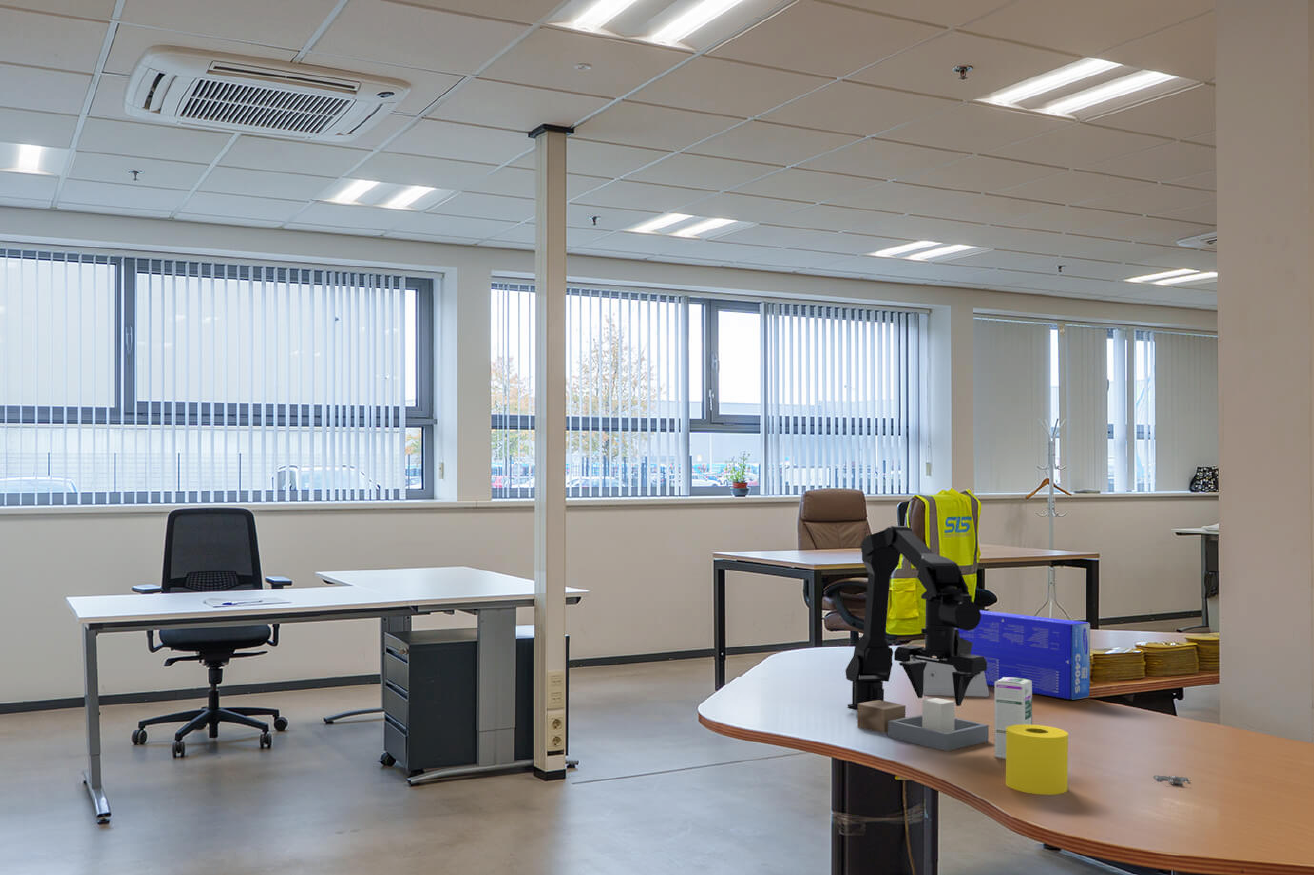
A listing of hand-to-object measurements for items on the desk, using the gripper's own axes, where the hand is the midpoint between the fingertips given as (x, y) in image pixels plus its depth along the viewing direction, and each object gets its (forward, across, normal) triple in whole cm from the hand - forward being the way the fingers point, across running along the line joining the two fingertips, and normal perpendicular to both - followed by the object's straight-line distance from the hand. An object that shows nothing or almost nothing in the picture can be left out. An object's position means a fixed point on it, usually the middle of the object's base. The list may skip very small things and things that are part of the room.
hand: (939, 701), depth 226 cm
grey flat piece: (+8, -40, -8) cm, 42 cm away
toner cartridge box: (+8, +24, -64) cm, 69 cm away
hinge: (+8, +28, -44) cm, 53 cm away
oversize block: (+8, +14, +1) cm, 16 cm away
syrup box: (+8, -17, 0) cm, 18 cm away
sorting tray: (+8, 0, 0) cm, 8 cm away
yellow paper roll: (+8, -31, +15) cm, 35 cm away
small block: (+7, 0, 0) cm, 7 cm away
